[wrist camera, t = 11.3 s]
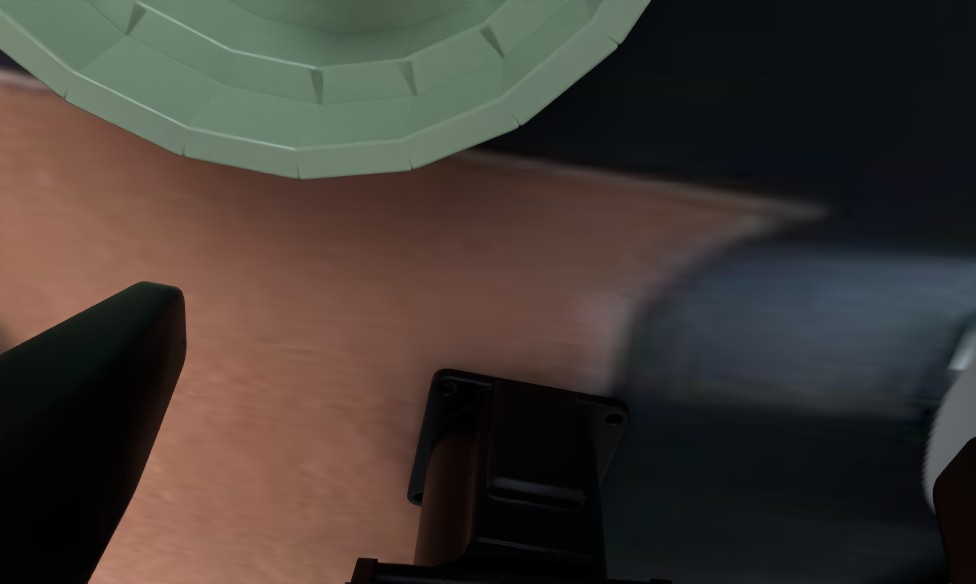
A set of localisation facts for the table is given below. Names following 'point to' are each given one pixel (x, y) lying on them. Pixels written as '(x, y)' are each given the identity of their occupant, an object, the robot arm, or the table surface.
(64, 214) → the table surface
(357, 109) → the bowl
